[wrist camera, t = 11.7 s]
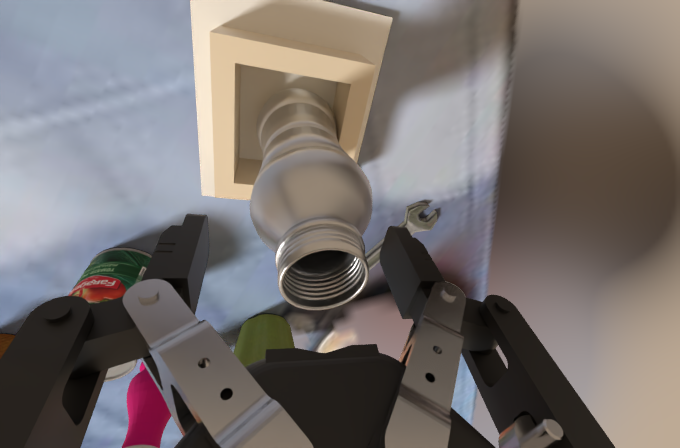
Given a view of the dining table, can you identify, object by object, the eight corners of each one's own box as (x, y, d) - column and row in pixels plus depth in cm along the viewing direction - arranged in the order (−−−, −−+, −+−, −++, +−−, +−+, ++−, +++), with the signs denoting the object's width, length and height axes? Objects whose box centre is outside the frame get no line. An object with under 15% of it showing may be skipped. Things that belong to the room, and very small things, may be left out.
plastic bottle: (242, 104, 27) (197, 266, 11) (312, 66, 26) (374, 182, 10) (280, 165, 31) (289, 349, 15) (343, 133, 30) (422, 293, 14)
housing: (191, -32, 22) (168, -39, 17) (389, 17, 26) (415, 22, 21) (203, 190, 32) (191, 225, 27) (344, 202, 36) (355, 234, 31)
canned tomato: (144, 304, 40) (107, 391, 31) (76, 276, 35) (12, 368, 27) (181, 269, 37) (154, 353, 29) (114, 235, 33) (57, 321, 24)
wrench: (440, 214, 40) (443, 219, 39) (333, 302, 46) (334, 308, 45) (418, 194, 37) (422, 199, 36) (308, 290, 44) (309, 296, 43)
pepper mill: (142, 342, 44) (67, 539, 28) (197, 347, 46) (157, 529, 31) (137, 370, 47) (68, 559, 31) (188, 373, 50) (149, 549, 34)
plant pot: (301, 296, 44) (309, 373, 35) (306, 344, 51) (313, 419, 42) (214, 307, 42) (198, 391, 33) (232, 355, 49) (223, 435, 40)
